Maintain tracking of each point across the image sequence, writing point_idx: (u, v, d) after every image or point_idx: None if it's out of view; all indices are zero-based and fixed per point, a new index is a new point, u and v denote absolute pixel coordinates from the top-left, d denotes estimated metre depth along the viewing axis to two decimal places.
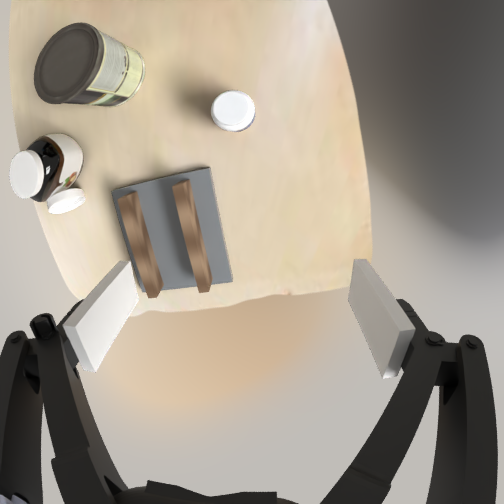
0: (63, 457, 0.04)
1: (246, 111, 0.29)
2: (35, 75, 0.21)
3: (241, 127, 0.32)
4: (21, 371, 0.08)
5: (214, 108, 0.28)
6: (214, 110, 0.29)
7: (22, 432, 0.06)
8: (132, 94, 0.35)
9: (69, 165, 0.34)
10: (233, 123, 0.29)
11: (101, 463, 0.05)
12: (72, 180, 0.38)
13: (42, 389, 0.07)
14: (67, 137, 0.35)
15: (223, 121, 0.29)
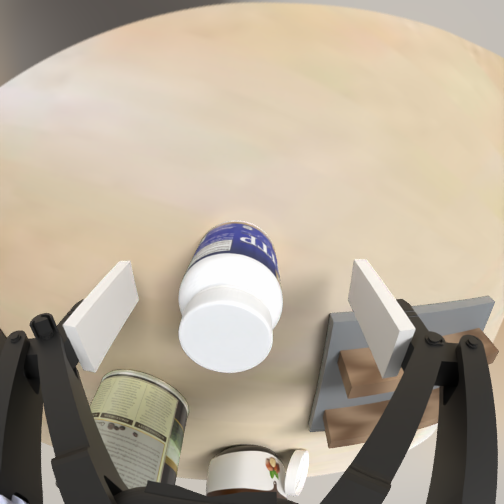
0: (63, 457, 0.04)
1: (240, 309, 0.11)
2: None
3: (277, 296, 0.13)
4: (21, 371, 0.08)
5: (221, 371, 0.12)
6: (226, 371, 0.12)
7: (22, 432, 0.06)
8: (174, 394, 0.25)
9: (256, 476, 0.25)
10: (269, 341, 0.11)
11: (101, 463, 0.05)
12: (274, 463, 0.28)
13: (42, 389, 0.07)
14: (217, 464, 0.27)
15: (258, 359, 0.12)
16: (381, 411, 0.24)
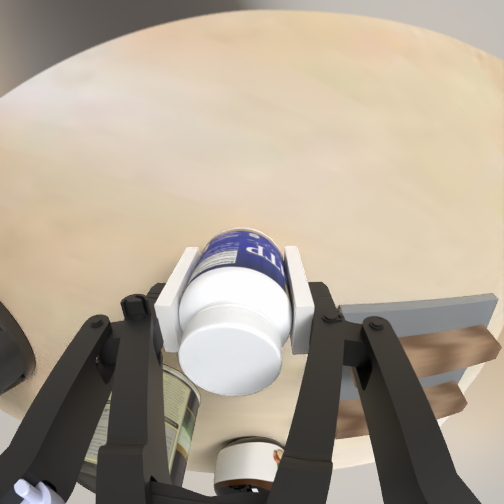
0: (113, 448, 0.05)
1: (246, 332, 0.10)
2: None
3: (287, 313, 0.12)
4: (93, 360, 0.09)
5: (225, 394, 0.11)
6: (230, 395, 0.11)
7: (75, 423, 0.07)
8: (187, 383, 0.26)
9: (263, 467, 0.26)
10: (277, 365, 0.10)
11: (153, 462, 0.06)
12: None
13: (116, 371, 0.08)
14: (225, 455, 0.28)
15: (266, 383, 0.10)
16: None
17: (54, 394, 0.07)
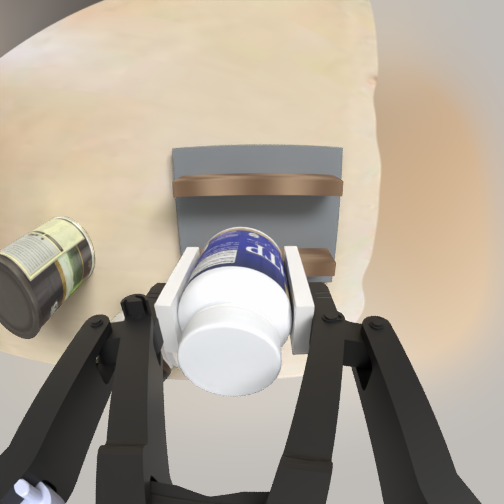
0: (113, 448, 0.05)
1: (245, 332, 0.09)
2: (18, 335, 0.24)
3: (287, 313, 0.12)
4: (93, 360, 0.09)
5: (224, 394, 0.11)
6: (229, 395, 0.11)
7: (75, 423, 0.07)
8: (82, 233, 0.33)
9: None
10: (277, 365, 0.10)
11: (153, 462, 0.06)
12: None
13: (116, 371, 0.08)
14: (113, 318, 0.35)
15: (265, 384, 0.10)
16: None
17: (54, 394, 0.07)
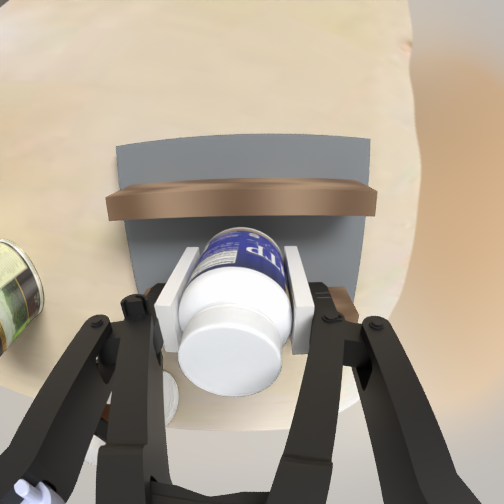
0: (113, 448, 0.05)
1: (246, 333, 0.09)
2: None
3: (287, 314, 0.12)
4: (93, 360, 0.09)
5: (225, 395, 0.11)
6: (230, 395, 0.11)
7: (75, 423, 0.07)
8: (25, 261, 0.23)
9: None
10: (277, 366, 0.10)
11: (153, 462, 0.06)
12: None
13: (116, 371, 0.08)
14: None
15: (265, 384, 0.10)
16: None
17: (53, 394, 0.07)
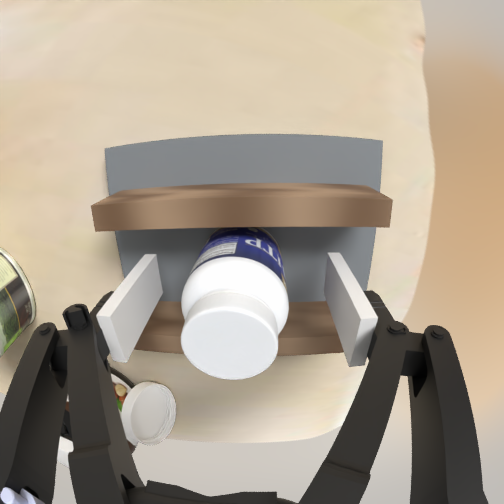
0: (81, 452, 0.05)
1: (244, 316, 0.10)
2: None
3: (283, 301, 0.13)
4: (47, 365, 0.08)
5: (225, 378, 0.12)
6: (229, 378, 0.12)
7: (41, 427, 0.06)
8: (15, 269, 0.21)
9: None
10: (274, 348, 0.11)
11: (120, 461, 0.05)
12: (123, 392, 0.24)
13: (68, 380, 0.07)
14: None
15: (263, 366, 0.11)
16: None
17: (18, 401, 0.06)
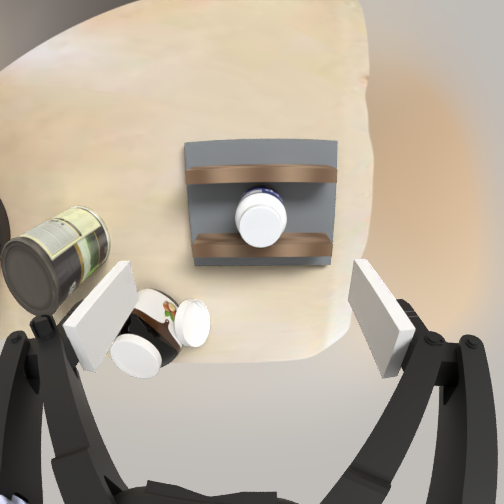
0: (63, 457, 0.04)
1: (268, 210, 0.26)
2: (36, 314, 0.27)
3: (284, 213, 0.28)
4: (21, 371, 0.08)
5: (257, 246, 0.27)
6: (260, 246, 0.27)
7: (22, 432, 0.06)
8: (99, 221, 0.36)
9: (149, 305, 0.36)
10: (280, 227, 0.26)
11: (101, 463, 0.05)
12: (173, 309, 0.40)
13: (42, 389, 0.07)
14: None
15: (275, 238, 0.27)
16: None
17: None
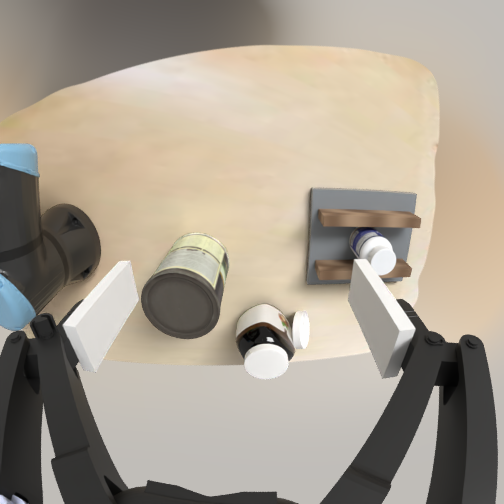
0: (63, 457, 0.04)
1: (390, 251, 0.35)
2: (180, 336, 0.37)
3: (392, 250, 0.38)
4: (21, 371, 0.08)
5: (379, 274, 0.37)
6: (381, 274, 0.37)
7: (22, 432, 0.06)
8: (222, 247, 0.46)
9: (272, 318, 0.46)
10: (395, 262, 0.36)
11: (101, 463, 0.05)
12: (284, 319, 0.49)
13: (42, 389, 0.07)
14: (244, 315, 0.48)
15: (391, 269, 0.36)
16: (351, 263, 0.44)
17: None
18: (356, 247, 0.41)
